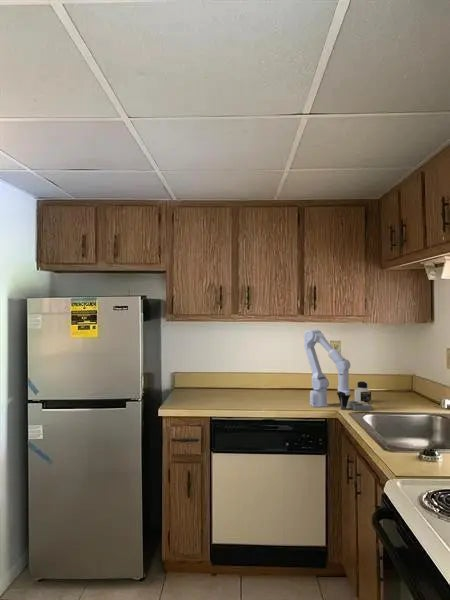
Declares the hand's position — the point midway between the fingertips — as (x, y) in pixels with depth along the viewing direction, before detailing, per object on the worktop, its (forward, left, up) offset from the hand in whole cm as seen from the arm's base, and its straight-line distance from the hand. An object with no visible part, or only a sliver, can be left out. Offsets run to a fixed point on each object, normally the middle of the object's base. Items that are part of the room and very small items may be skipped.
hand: (343, 405), depth 273 cm
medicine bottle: (+18, +18, -2) cm, 26 cm away
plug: (0, 0, -2) cm, 2 cm away
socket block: (+9, +2, -2) cm, 10 cm away
